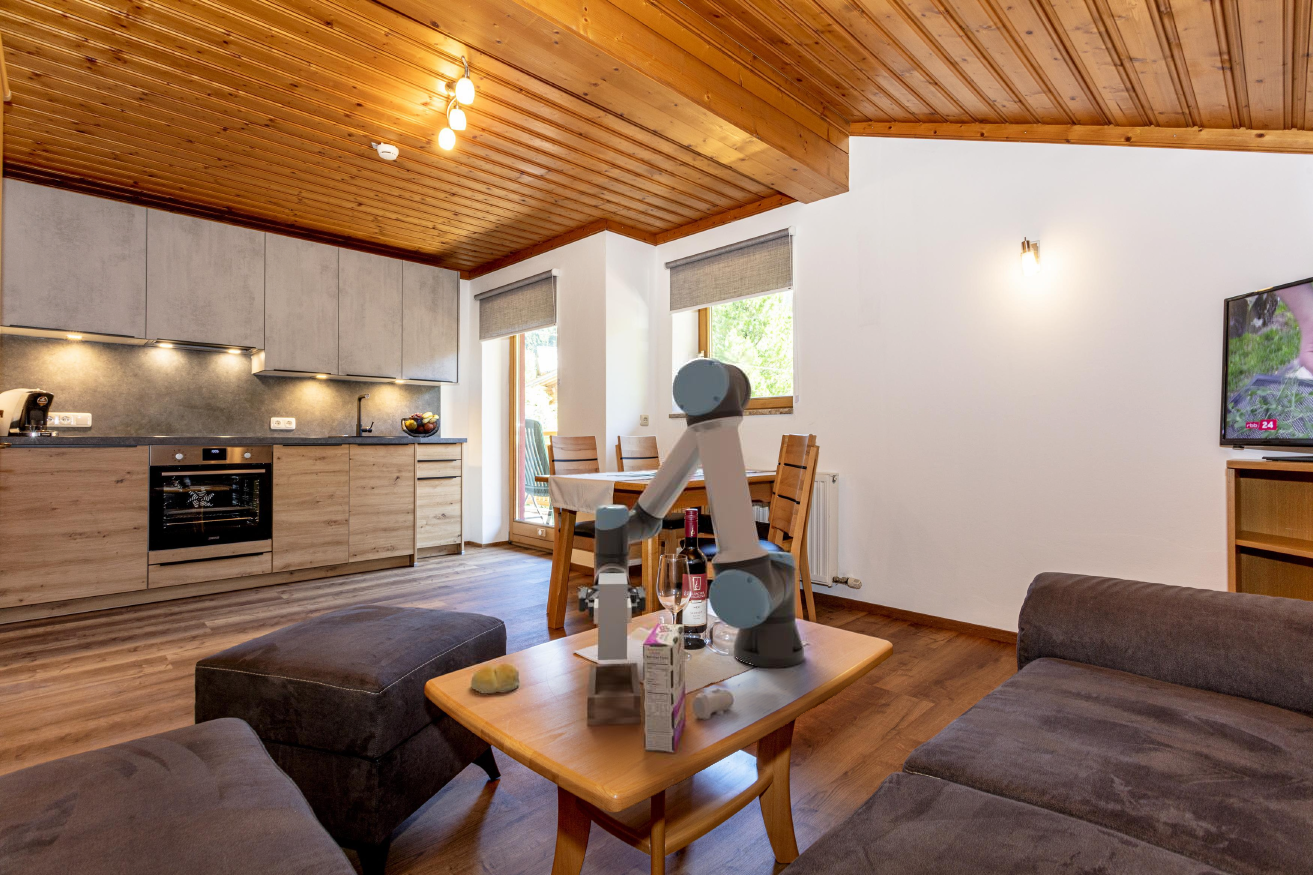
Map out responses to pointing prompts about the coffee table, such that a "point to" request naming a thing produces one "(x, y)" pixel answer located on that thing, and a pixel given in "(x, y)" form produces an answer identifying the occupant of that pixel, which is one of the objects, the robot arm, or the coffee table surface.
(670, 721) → the candy bar box
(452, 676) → the coffee table surface
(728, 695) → the pale two-lobed sculpture
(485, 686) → the bread roll
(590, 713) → the open brown box
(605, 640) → the grey box
